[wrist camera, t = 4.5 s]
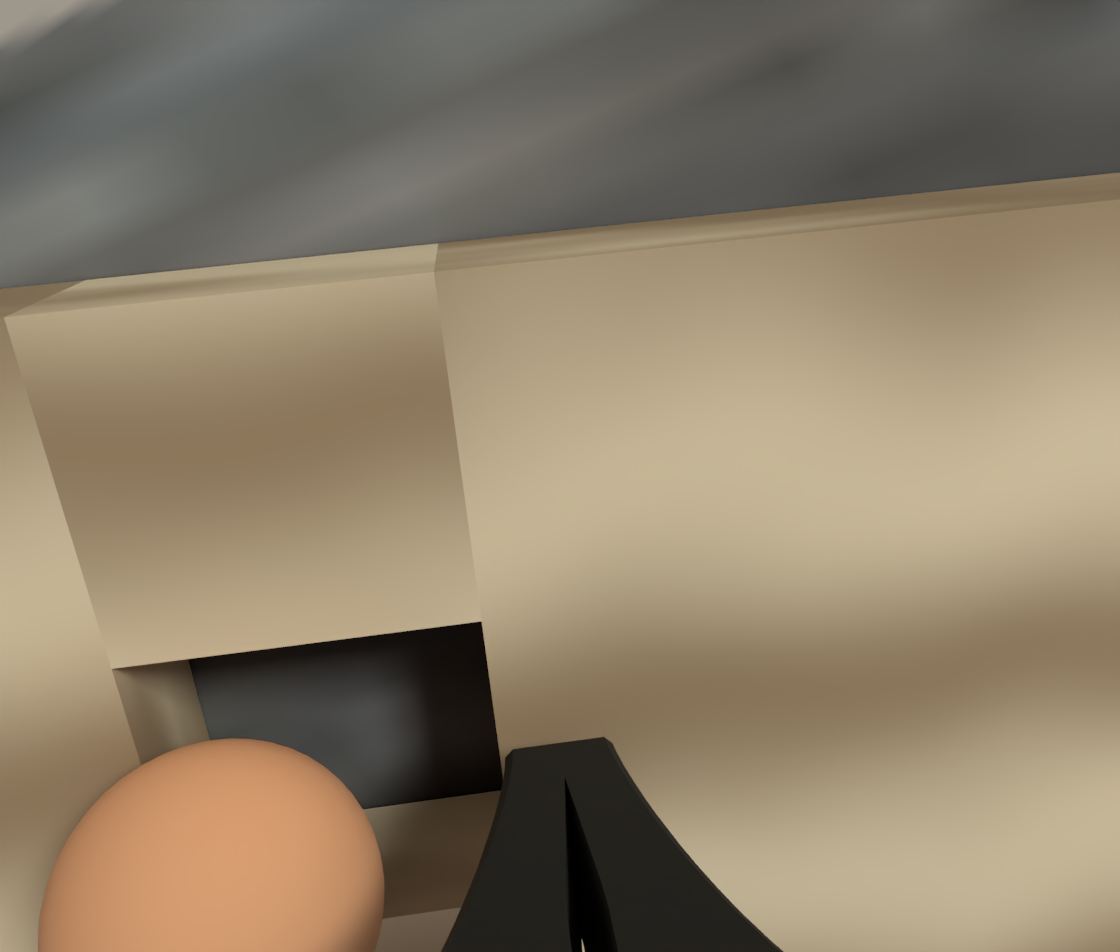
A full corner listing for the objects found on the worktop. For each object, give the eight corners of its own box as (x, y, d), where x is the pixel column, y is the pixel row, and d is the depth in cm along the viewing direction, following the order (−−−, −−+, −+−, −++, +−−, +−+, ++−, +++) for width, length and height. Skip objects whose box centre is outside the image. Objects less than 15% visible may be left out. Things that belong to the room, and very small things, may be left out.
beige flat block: (1112, 894, 19) (1202, 1003, 17) (92, 1048, 18) (36, 1189, 16) (1229, 161, 14) (1384, 170, 12) (-190, 309, 13) (-334, 353, 10)
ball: (415, 1118, 11) (45, 1230, 10) (367, 876, 15) (86, 938, 14) (405, 857, 10) (-30, 953, 9) (354, 658, 13) (39, 704, 12)
